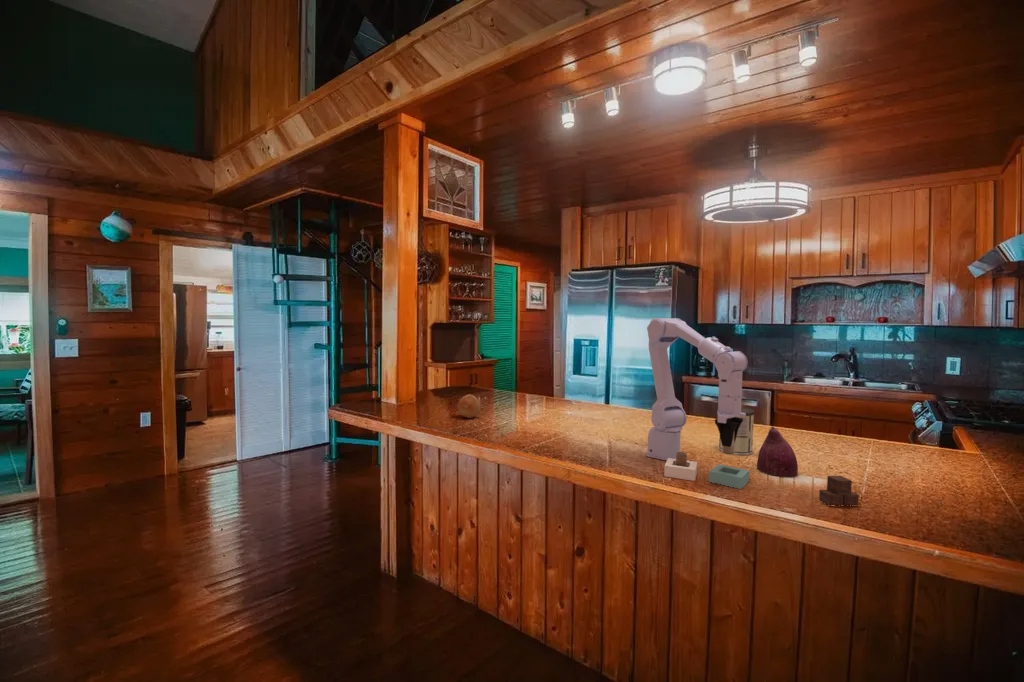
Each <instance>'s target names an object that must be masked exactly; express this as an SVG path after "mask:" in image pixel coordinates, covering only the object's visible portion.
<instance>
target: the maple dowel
mask: <svg viewBox="0 0 1024 682" xmlns="http://www.w3.org/2000/svg"><path fill="white" fill-rule="evenodd" d="M734 435H735V431H734ZM734 435H733V440H732V444H731V447H727V446H723V452H722V454H725V455H734Z"/></svg>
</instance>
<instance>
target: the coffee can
mask: <svg viewBox="0 0 1024 682" xmlns="http://www.w3.org/2000/svg"><path fill="white" fill-rule="evenodd" d="M741 412H742V413H746V416H739V417H738V418H743V422H742V423H741V425H740V427H739V429H738V432H737V436H736V440H735V443H734V454H733V455H735V456H736V455H737V456H749V455H752V454H753V445H754V444H753V441H754V440H753V439H754V438H753V437H754V422H755V421H754V420H755V419H754V418H755V415H754V414H755V410H754V409H752V408H747V407H742V406H741ZM718 445H719V446H718V450H719V451H720V452H722V453H723V446H722V443H721V438H720V437H719V443H718Z"/></svg>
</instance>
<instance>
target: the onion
mask: <svg viewBox="0 0 1024 682" xmlns="http://www.w3.org/2000/svg"><path fill="white" fill-rule="evenodd" d="M456 406H457V407H456V408H457V410H458V414H460V415H461V416H462V417H464V418H467V419H473V418H474V417H476V416H478V414H479V413H480V411H481V409H482V407H481V403H480V400H479V399H478V398H477V397H476V396H475V395H473V394H470V393H469V394H466V395H464V396H462V397H461V398H460V399H459V400H458V403H457V405H456Z"/></svg>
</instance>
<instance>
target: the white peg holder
mask: <svg viewBox="0 0 1024 682" xmlns="http://www.w3.org/2000/svg"><path fill="white" fill-rule="evenodd" d="M663 472H664V473H663V474H664V476H663V477H664V478H672V479H680V480H685V481H686V480H687V481H691V482H692V481H693V482H695V481H696V477H697V473H698V461H692V460H687V463H686V467H684V466H676V459H672V458H668V459H667V460H666V462H665V464H664V471H663Z"/></svg>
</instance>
